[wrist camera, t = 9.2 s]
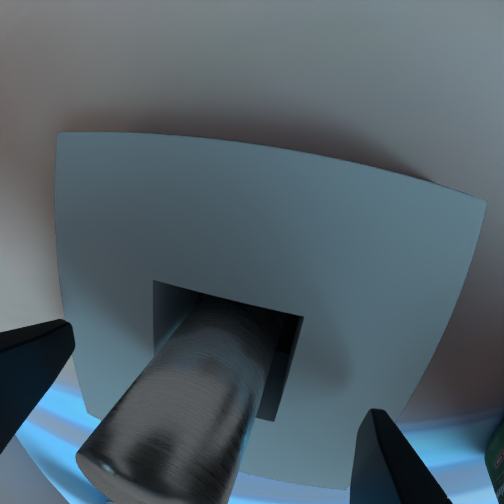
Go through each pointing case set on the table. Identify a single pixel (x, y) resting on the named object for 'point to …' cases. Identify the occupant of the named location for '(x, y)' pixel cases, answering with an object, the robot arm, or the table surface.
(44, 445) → the table surface
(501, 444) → the coffee jar
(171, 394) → the grey metal peg
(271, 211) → the socket block
